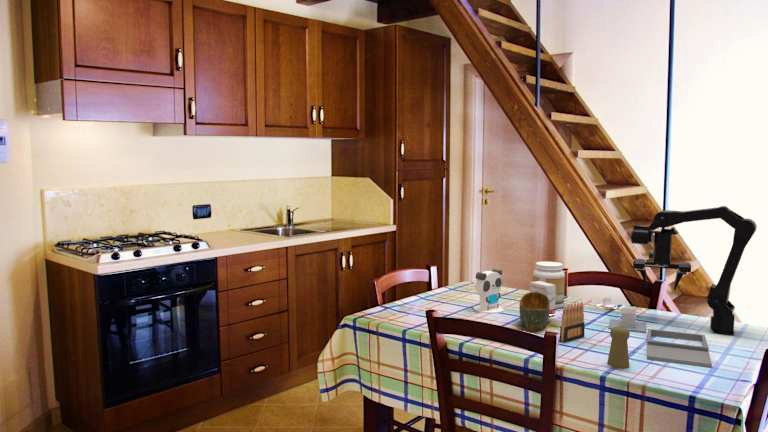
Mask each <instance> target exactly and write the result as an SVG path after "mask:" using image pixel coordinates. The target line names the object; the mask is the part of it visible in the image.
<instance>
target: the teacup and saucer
mask: <svg viewBox="0 0 768 432" xmlns="http://www.w3.org/2000/svg"><path fill="white" fill-rule="evenodd" d="M611 302H612V297H611V296H602V303H599V304H598V303H597V304H596V305H595V306H596V307H597V308H598V309H599V308H600V309H602V310H603V309H604V310H616V309H618V306H617V305H614V304H611ZM601 306H603V307H601ZM614 306H616V307H614Z"/></svg>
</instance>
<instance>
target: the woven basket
mask: <svg viewBox="0 0 768 432" xmlns="http://www.w3.org/2000/svg"><path fill="white" fill-rule="evenodd" d="M549 308H550V302H549V298H548V297H547V296H546V295H544V294H542V293H539V292H537V291H536V292H527V293H525V294H524V295H522V296H521V298H520V300H519V317H520V318H519V319H520V321H521V325H522V327H523V328H524V329H525V330H528V331H531V332H539V330H540V331H542V330H544V329H545V328H546V327H547V323H549V322H548V321H549ZM543 328H544V329H543Z"/></svg>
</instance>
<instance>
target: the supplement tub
mask: <svg viewBox="0 0 768 432" xmlns="http://www.w3.org/2000/svg"><path fill="white" fill-rule="evenodd" d="M563 266H564V265H563V263H562V262H557V261H537V262H535V267H534V268H535V269H534V270H533V271H532V272H533V273H532V282H536V281H542V282H546V283H550V284H554V285H556V286H555V310H557V309H561V308H562V307H563V308H564V306H565V305H564V304H565V284H566V283H565V282H566V281H565V280H566V275H565V271H564V270H563V269H564V267H563Z"/></svg>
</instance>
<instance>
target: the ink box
mask: <svg viewBox="0 0 768 432" xmlns="http://www.w3.org/2000/svg"><path fill="white" fill-rule="evenodd" d="M555 286H556V285H554V284H550V283H546V282H542V281H536V282H533V281H530V282H529V288H530V289H529V291H530V292H536V291H537V292H539V293H542V294H544V295H546V296H547V297H548V298H549V302H550V308H549V314H554V313H555V314H556V309H555ZM530 292H529V293H530Z"/></svg>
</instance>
